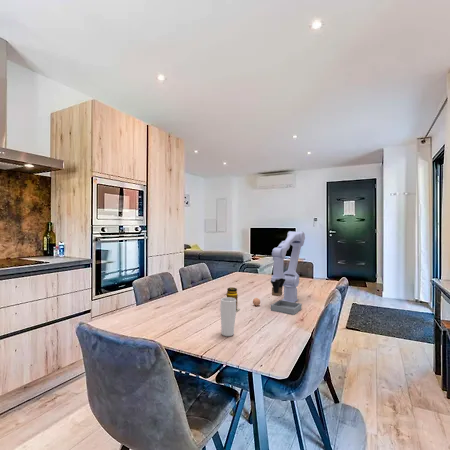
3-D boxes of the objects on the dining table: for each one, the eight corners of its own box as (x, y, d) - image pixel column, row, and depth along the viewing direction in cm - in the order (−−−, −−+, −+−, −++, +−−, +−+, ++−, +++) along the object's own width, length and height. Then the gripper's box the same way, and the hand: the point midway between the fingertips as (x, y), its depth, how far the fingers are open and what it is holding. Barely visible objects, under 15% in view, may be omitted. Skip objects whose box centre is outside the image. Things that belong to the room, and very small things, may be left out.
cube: (275, 293, 167) (275, 286, 167) (282, 295, 165) (282, 287, 165) (271, 295, 163) (272, 287, 163) (279, 296, 161) (279, 288, 161)
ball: (254, 304, 168) (254, 296, 168) (261, 305, 165) (261, 297, 165) (251, 305, 164) (251, 298, 164) (258, 307, 162) (258, 299, 162)
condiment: (234, 313, 150) (234, 290, 150) (220, 310, 154) (220, 288, 154) (240, 309, 157) (240, 287, 156) (226, 306, 161) (227, 285, 161)
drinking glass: (235, 331, 125) (235, 297, 124) (236, 337, 118) (237, 301, 118) (219, 331, 124) (220, 297, 124) (219, 337, 118) (220, 301, 117)
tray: (279, 305, 167) (279, 299, 167) (301, 309, 160) (301, 303, 160) (270, 310, 156) (271, 305, 156) (293, 315, 149) (293, 309, 149)
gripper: (276, 266, 172) (276, 288, 172) (266, 269, 160) (265, 293, 160) (288, 267, 168) (287, 290, 168) (278, 270, 156) (277, 295, 156)
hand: (277, 292), depth 164 cm, fingers closed on cube, 4 cm apart
